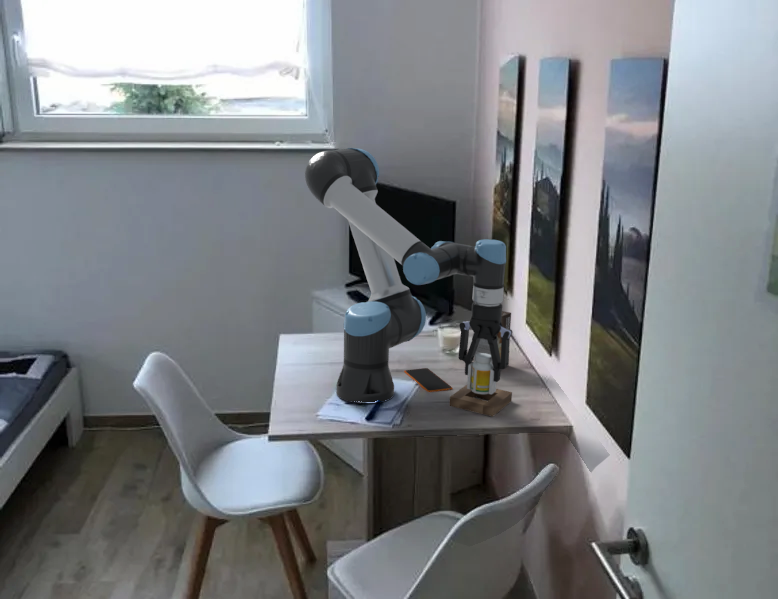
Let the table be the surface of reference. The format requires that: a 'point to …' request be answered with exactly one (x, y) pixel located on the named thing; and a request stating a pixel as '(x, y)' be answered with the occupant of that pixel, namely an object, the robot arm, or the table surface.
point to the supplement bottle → (481, 373)
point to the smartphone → (428, 380)
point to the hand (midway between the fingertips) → (481, 389)
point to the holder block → (480, 401)
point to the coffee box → (483, 344)
